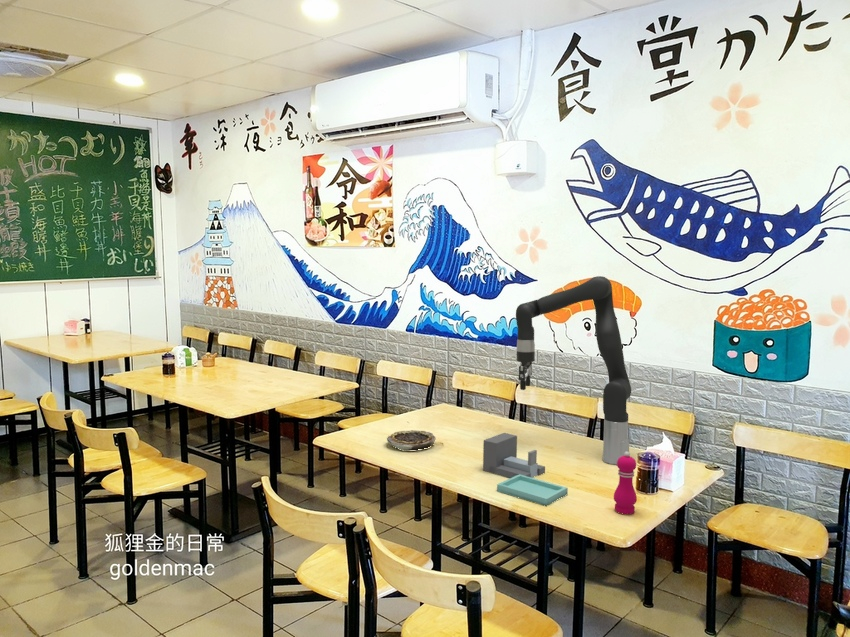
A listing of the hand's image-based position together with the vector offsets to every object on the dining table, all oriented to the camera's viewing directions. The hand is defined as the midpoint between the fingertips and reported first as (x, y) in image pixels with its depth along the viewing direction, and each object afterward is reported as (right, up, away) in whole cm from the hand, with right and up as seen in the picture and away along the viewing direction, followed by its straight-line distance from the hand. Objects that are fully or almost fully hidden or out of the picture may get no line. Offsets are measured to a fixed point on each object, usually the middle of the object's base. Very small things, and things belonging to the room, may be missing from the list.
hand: (525, 387), depth 279 cm
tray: (-5, -32, -49) cm, 58 cm away
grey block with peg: (-6, -30, -29) cm, 42 cm away
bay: (-8, -29, -27) cm, 41 cm away
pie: (-49, -26, +6) cm, 56 cm away
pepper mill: (+23, -34, -64) cm, 76 cm away
